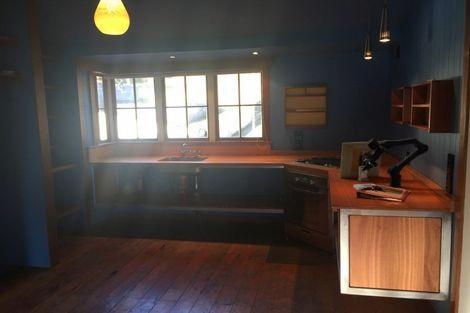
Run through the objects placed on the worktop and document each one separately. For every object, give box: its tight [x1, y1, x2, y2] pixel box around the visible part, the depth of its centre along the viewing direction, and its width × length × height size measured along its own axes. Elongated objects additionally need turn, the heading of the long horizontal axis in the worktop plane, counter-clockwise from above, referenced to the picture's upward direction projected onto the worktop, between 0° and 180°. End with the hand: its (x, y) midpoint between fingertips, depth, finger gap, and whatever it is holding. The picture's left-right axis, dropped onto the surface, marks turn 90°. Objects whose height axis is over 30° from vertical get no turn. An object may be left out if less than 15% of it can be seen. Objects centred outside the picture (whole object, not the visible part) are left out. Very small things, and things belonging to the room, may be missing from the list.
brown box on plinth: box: [357, 166, 370, 182], centre depth 267 cm, size 6×6×10 cm
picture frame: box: [339, 140, 383, 180], centre depth 305 cm, size 33×10×30 cm, turn 92°
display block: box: [353, 183, 375, 191], centre depth 265 cm, size 14×10×2 cm
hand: (361, 170), depth 267 cm, fingers closed on brown box on plinth, 4 cm apart
